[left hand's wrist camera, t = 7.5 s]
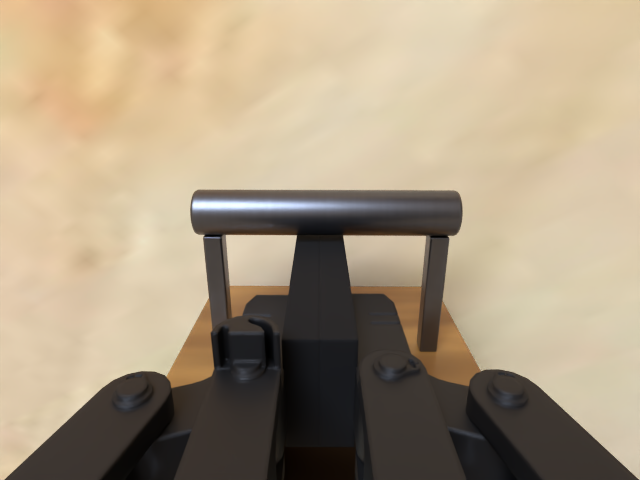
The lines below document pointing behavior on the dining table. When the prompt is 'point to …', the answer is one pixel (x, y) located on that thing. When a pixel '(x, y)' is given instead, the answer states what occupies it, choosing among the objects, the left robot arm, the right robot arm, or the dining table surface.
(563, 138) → the dining table surface
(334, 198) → the drawer
